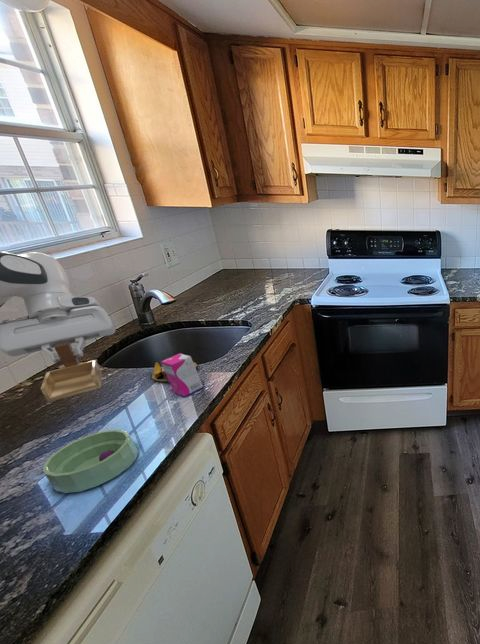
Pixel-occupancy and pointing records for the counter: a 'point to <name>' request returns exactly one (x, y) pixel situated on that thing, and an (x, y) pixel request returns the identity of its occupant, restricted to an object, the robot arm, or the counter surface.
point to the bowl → (90, 461)
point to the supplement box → (182, 375)
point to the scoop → (70, 376)
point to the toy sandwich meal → (161, 373)
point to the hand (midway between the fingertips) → (68, 358)
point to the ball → (105, 455)
